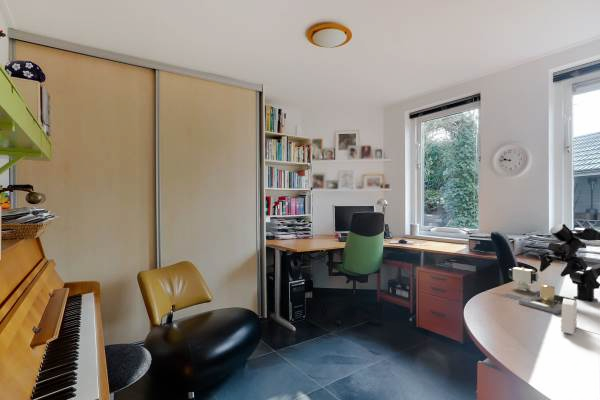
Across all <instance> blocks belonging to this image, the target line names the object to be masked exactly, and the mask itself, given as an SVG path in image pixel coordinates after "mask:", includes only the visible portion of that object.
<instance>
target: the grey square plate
mask: <svg viewBox="0 0 600 400" xmlns="http://www.w3.org/2000/svg"><path fill="white" fill-rule="evenodd" d="M500 297H504V298H508V299H512V300H514V301H515V300H516V301H517V300H521V299H524V298H525V297H524V296H520V295H516V294H512V293H505V294H501V295H500Z"/></svg>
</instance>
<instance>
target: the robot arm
mask: <svg viewBox="0 0 600 400" xmlns="http://www.w3.org/2000/svg"><path fill="white" fill-rule="evenodd" d="M549 233H550V235H551V236H553V237H554V238H555V239H556V240H557V241H558V242H563V243H555V242H549V243H548V244H547V245H548V246H547V250H549V251H551V253H552V255H551V254H550V253H549V252H548V251H543V250H542V251H541V250H538V251H537V252H536V256H537V257H538V258H539V259H540V265H539V272H544V271H545V270H546V269H548V267H550V266H552V264H551V263H553V262H554V261H555V262H560V263H564V264H566V266H565V267H564V268H563V270H562V271H561V273H560V276H561V277H562V278H563V277H566V276H568V275H569V279H570V280H571V282H572V284H575V285H576V292H577V293H576V295H575V296H573V299H576V300H581V301H586V302H592V303H593V302H596V301H598V298H596V297H595V290H596V289H597V290H598V289H600V283H599V281H598V280H597V279H599V277H600V263H597V264H594V265H591V266H589V265H588V263H587V262H586V261H585V260H584V259H583V257H580V256H578V254H577V252H578V251H579V249H586V248H587V245H586V243H585V242H583V241H587V242H589V241H590V242H594V241H595V242H596V241H600V231H598V230H595V229H593V228H590V227H579V226H576V227H575V228H573V229H570V228H569V227H568V226H567V225H566V224H565V223H560V224H558V225H555V226H553V227H551V228H550V229H549Z"/></svg>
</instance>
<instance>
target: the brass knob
mask: <svg viewBox="0 0 600 400" xmlns="http://www.w3.org/2000/svg"><path fill="white" fill-rule="evenodd" d="M539 291H540V303H544V304H548V305H552V306H553V305H554V294H555V286H554V285H551V284H539Z"/></svg>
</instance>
